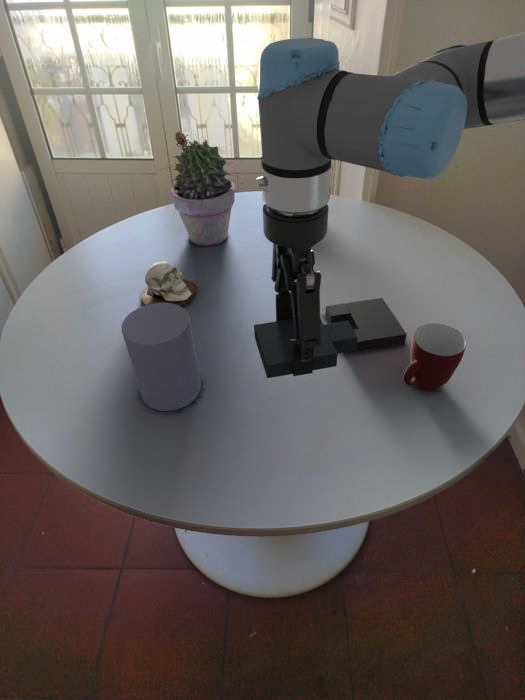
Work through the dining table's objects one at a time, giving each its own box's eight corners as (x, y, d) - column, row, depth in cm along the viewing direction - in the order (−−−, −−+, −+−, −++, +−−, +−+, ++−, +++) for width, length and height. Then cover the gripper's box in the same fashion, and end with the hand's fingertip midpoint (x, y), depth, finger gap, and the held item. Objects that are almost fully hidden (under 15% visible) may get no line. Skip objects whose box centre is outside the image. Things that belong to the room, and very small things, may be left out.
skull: (211, 284, 104) (185, 269, 95) (190, 326, 104) (162, 315, 95) (172, 266, 109) (144, 250, 100) (153, 306, 109) (123, 294, 100)
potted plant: (234, 259, 114) (226, 154, 97) (162, 249, 118) (142, 147, 102) (258, 225, 126) (253, 127, 110) (191, 217, 131) (178, 122, 114)
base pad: (404, 344, 89) (406, 334, 87) (343, 354, 87) (344, 344, 85) (380, 307, 97) (382, 297, 96) (325, 315, 96) (325, 305, 94)
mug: (425, 416, 76) (439, 372, 69) (384, 389, 80) (393, 346, 73) (460, 383, 81) (476, 339, 74) (420, 360, 85) (431, 316, 78)
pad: (362, 361, 66) (364, 348, 65) (267, 378, 64) (266, 365, 63) (341, 323, 73) (342, 310, 71) (254, 337, 71) (253, 324, 69)
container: (213, 389, 82) (202, 322, 71) (163, 422, 76) (145, 354, 66) (178, 361, 87) (164, 294, 77) (130, 389, 82) (108, 323, 72)
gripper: (245, 171, 61) (253, 310, 76) (286, 255, 45) (286, 410, 60) (301, 164, 62) (298, 303, 77) (361, 244, 46) (342, 399, 61)
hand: (293, 349), depth 68 cm, fingers closed on pad, 9 cm apart
